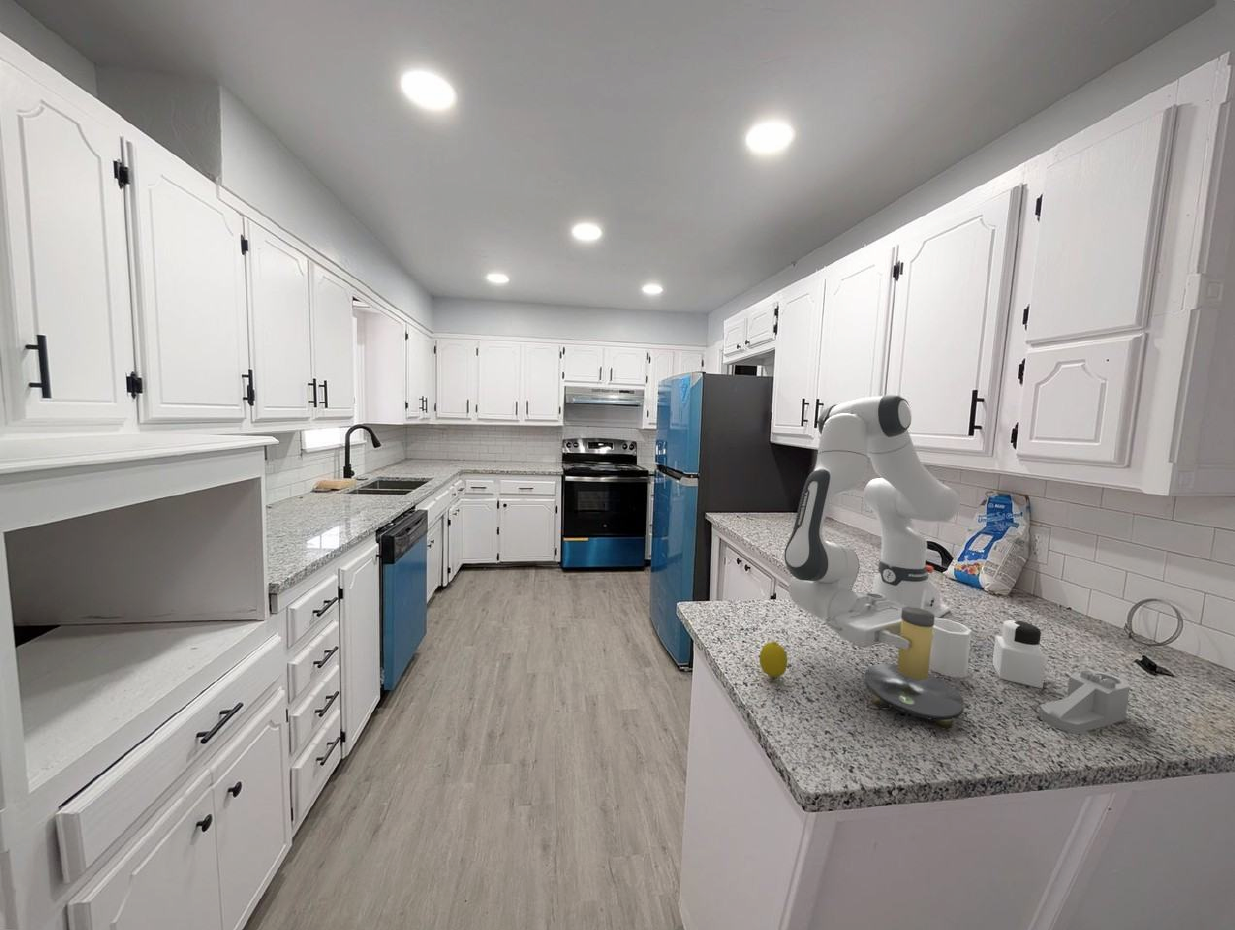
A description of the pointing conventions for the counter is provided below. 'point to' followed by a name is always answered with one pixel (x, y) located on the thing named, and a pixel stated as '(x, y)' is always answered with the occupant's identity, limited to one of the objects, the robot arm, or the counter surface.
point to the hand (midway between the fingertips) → (920, 642)
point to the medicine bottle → (1019, 654)
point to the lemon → (773, 659)
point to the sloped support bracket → (1088, 702)
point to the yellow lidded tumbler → (916, 642)
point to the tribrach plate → (914, 694)
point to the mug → (950, 648)
